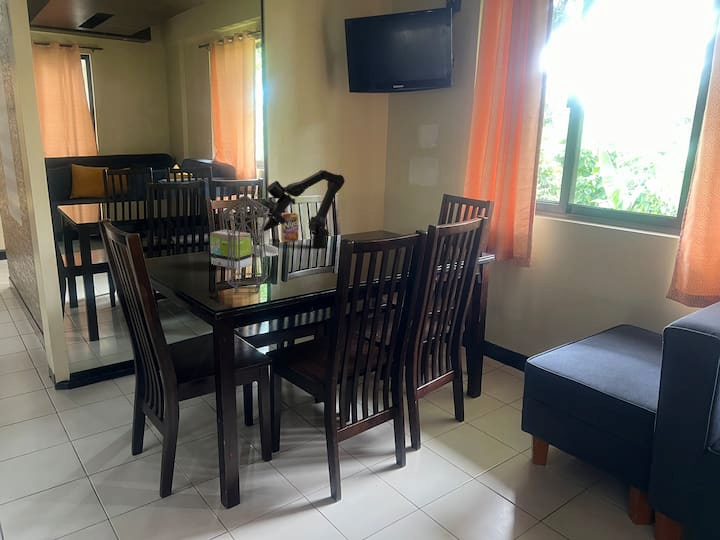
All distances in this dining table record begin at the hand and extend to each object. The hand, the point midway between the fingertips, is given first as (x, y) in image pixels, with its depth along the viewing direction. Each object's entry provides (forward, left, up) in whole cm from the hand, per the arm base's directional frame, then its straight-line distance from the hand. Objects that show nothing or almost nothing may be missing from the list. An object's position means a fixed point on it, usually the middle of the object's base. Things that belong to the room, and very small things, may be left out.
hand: (260, 229), depth 251 cm
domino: (-1, 0, -7) cm, 7 cm away
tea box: (+18, +18, -12) cm, 28 cm away
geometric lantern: (+20, +59, -12) cm, 63 cm away
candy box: (-22, -26, -12) cm, 37 cm away
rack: (-1, 0, -12) cm, 12 cm away
